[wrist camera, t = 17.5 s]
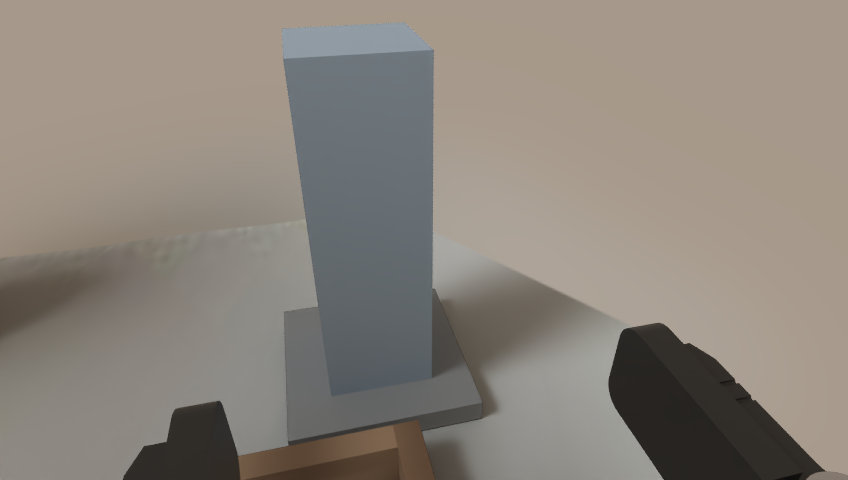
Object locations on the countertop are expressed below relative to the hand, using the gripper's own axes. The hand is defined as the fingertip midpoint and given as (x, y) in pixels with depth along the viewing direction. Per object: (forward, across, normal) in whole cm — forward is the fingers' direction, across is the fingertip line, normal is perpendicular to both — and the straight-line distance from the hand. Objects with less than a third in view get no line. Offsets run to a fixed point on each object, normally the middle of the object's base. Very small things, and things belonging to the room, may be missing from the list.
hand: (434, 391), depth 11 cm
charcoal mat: (+11, 0, +10) cm, 15 cm away
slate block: (+11, 0, +10) cm, 15 cm away
